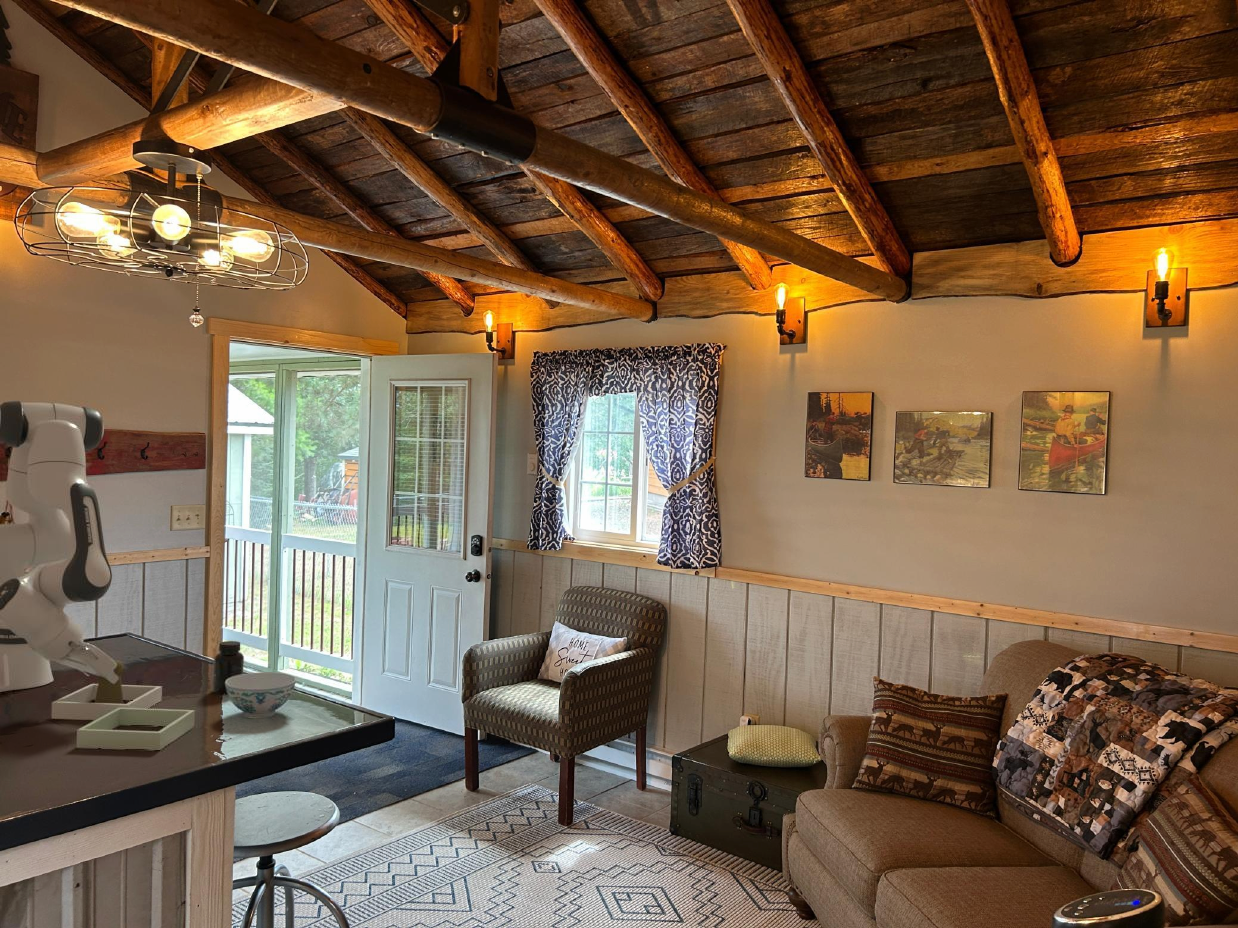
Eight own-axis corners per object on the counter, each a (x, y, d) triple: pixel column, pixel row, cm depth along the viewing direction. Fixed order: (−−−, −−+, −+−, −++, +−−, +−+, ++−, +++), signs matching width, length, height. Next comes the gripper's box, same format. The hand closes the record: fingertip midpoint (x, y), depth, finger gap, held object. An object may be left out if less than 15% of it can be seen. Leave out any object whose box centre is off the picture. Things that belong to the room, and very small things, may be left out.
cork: (110, 714, 199) (112, 664, 199) (86, 711, 200) (88, 662, 200) (130, 707, 205) (132, 659, 205) (107, 704, 206) (109, 656, 206)
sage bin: (76, 747, 177) (77, 729, 177) (117, 723, 193) (118, 707, 193) (159, 750, 178) (160, 732, 178) (194, 726, 194) (194, 710, 194)
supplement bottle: (205, 692, 221) (208, 643, 221) (227, 686, 227) (229, 638, 227) (227, 696, 218) (229, 646, 218) (248, 690, 225) (251, 641, 224)
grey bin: (51, 718, 194) (52, 702, 194) (91, 698, 210) (92, 683, 210) (127, 721, 195) (128, 704, 195) (161, 701, 211) (162, 686, 211)
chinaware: (272, 701, 216) (274, 669, 216) (307, 714, 206) (309, 681, 206) (210, 712, 204) (212, 678, 204) (244, 727, 195) (246, 692, 195)
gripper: (96, 634, 189) (139, 672, 198) (47, 621, 200) (90, 658, 209) (72, 659, 186) (118, 697, 194) (24, 644, 197) (69, 681, 205)
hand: (103, 677), depth 201 cm, fingers open, 8 cm apart
